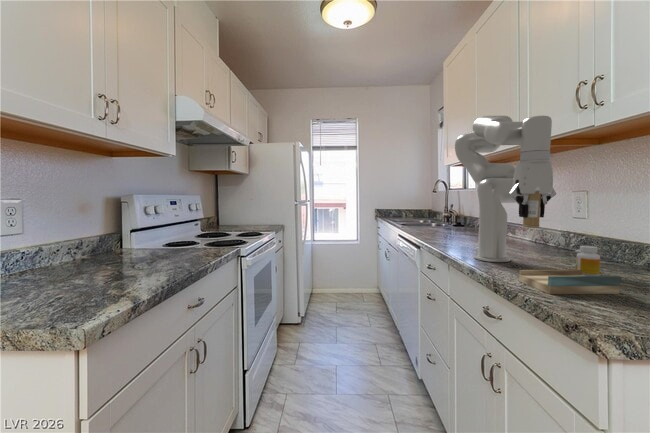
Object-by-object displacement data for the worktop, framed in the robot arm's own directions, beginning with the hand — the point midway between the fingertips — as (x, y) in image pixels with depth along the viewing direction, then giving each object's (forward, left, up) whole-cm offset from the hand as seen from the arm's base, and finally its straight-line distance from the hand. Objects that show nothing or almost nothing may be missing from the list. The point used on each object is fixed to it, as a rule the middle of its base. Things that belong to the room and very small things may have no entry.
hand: (531, 216), depth 95 cm
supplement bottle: (+5, +14, -19) cm, 24 cm away
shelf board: (+13, +1, -18) cm, 23 cm away
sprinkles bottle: (0, 0, -4) cm, 4 cm away
